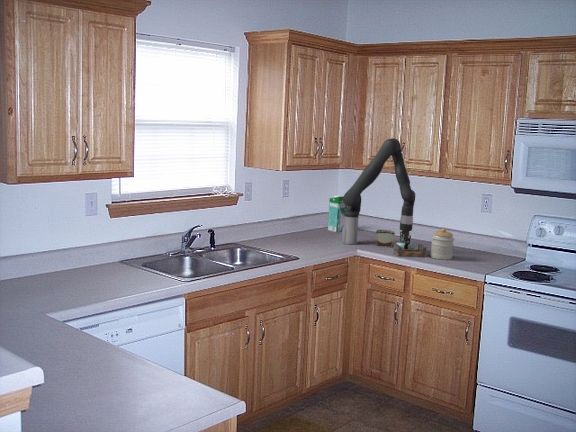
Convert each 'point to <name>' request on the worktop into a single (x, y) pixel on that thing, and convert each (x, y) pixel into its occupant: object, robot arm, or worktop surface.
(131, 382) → the worktop surface
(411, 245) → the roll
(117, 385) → the worktop surface
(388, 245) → the food container
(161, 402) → the worktop surface
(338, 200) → the milk carton
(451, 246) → the jar
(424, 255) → the holder
